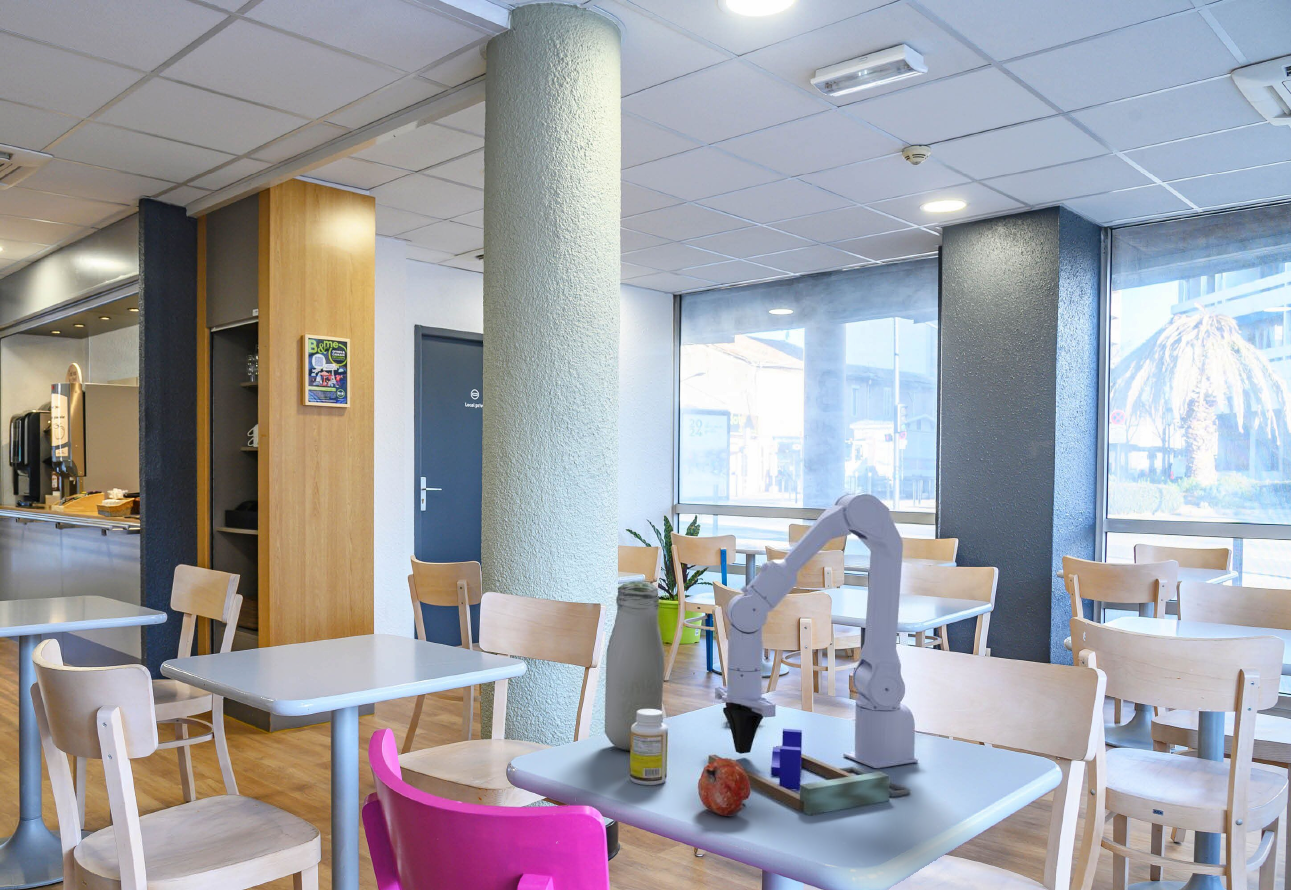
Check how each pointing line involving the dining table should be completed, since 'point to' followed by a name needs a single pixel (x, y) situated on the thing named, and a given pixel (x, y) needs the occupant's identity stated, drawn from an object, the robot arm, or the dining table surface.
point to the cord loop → (896, 793)
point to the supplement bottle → (648, 748)
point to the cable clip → (788, 759)
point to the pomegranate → (724, 787)
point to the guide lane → (825, 788)
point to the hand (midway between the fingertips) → (743, 751)
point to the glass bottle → (633, 661)
